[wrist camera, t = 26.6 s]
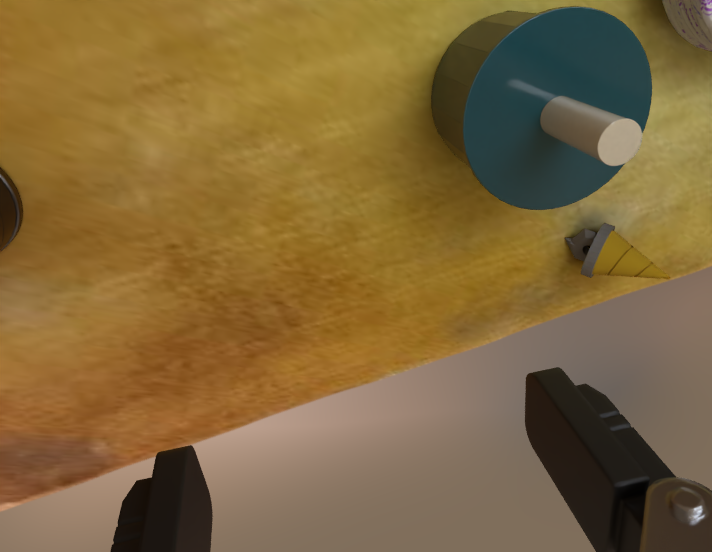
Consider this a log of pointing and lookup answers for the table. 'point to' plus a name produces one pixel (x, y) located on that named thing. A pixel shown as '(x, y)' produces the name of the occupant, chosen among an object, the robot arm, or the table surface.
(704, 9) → the paper bowls
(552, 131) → the lid
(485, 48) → the pot
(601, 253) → the drill bit
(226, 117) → the table surface
